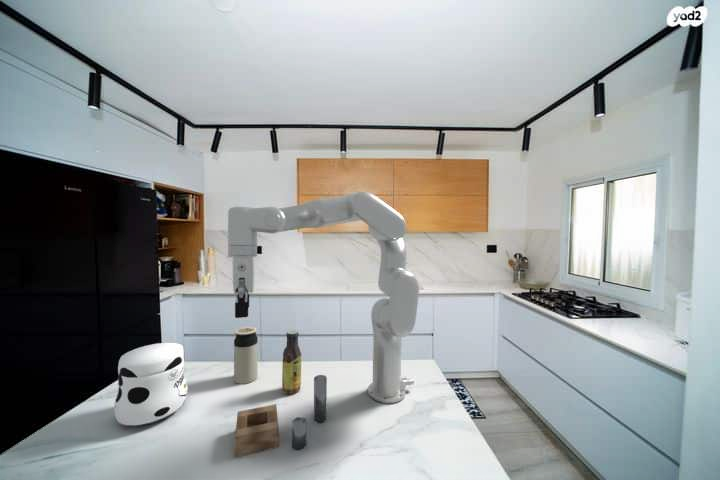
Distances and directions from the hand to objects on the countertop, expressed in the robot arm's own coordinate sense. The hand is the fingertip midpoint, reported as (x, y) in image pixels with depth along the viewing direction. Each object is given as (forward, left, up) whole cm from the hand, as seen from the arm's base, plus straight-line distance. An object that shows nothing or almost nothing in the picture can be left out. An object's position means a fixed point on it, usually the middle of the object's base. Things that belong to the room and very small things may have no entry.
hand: (242, 312), depth 79 cm
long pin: (-21, +6, -31) cm, 38 cm away
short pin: (-14, +14, -31) cm, 37 cm away
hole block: (-4, +8, -31) cm, 32 cm away
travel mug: (0, -25, -31) cm, 40 cm away
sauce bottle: (-15, -12, -31) cm, 37 cm away
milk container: (+25, -13, -32) cm, 42 cm away
